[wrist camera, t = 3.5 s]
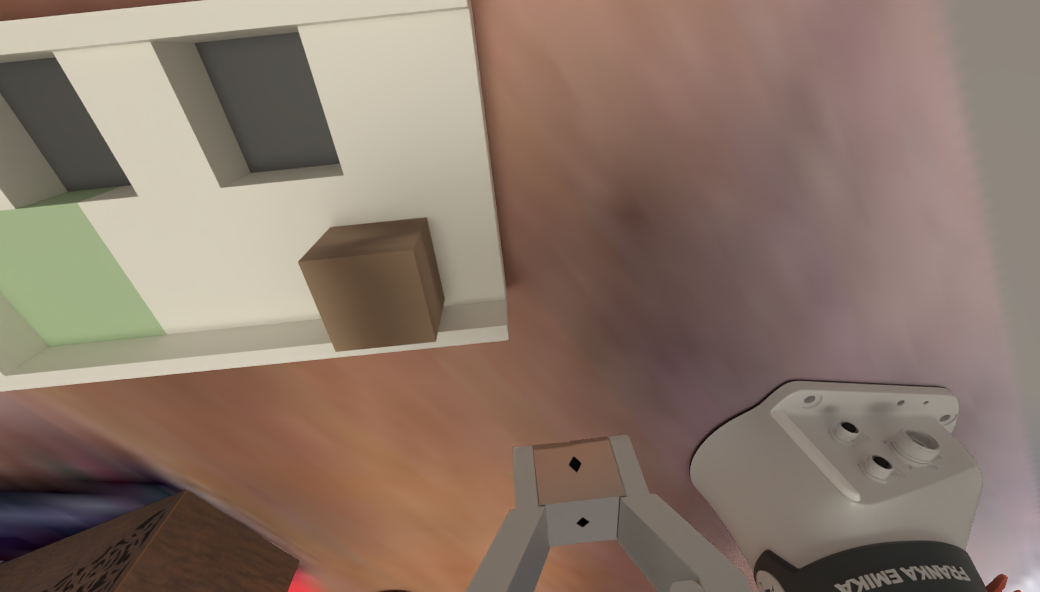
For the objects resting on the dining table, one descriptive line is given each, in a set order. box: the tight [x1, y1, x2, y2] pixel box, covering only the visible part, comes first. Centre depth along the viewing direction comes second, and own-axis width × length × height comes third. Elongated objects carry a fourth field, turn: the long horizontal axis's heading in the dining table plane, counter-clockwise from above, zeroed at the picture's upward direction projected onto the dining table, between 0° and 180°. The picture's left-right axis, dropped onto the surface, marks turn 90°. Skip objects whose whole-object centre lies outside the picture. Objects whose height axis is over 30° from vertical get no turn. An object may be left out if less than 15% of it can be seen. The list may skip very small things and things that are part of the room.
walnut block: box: [298, 217, 445, 352], centre depth 20 cm, size 5×5×4 cm
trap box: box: [0, 0, 509, 391], centre depth 20 cm, size 28×16×6 cm, turn 95°
